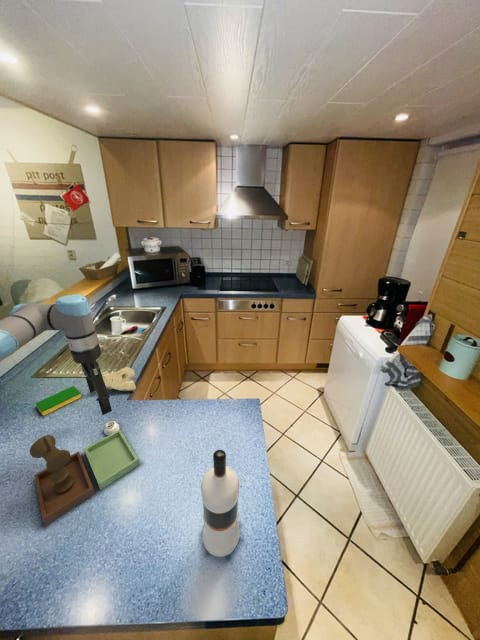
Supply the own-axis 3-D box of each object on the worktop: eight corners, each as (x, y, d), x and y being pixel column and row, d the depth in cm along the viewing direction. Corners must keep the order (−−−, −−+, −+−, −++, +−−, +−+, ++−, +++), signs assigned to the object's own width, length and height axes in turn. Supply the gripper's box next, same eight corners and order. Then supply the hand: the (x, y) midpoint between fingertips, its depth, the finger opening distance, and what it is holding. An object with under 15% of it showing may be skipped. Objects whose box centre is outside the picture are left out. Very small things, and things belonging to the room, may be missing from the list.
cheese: (144, 384, 118) (123, 360, 119) (144, 381, 112) (122, 356, 113) (115, 408, 110) (92, 383, 111) (113, 406, 104) (90, 380, 104)
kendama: (66, 468, 77) (47, 421, 69) (84, 485, 73) (65, 436, 64) (45, 485, 73) (21, 436, 64) (62, 504, 68) (39, 454, 60)
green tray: (85, 454, 83) (83, 448, 82) (121, 434, 90) (120, 429, 89) (100, 490, 72) (98, 484, 71) (139, 464, 80) (138, 459, 79)
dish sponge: (81, 397, 107) (80, 392, 106) (43, 416, 97) (41, 411, 96) (74, 389, 111) (73, 385, 110) (37, 407, 101) (35, 402, 100)
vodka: (208, 566, 57) (203, 484, 45) (198, 523, 65) (191, 443, 53) (245, 548, 61) (249, 466, 48) (231, 509, 69) (232, 429, 56)
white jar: (120, 423, 94) (106, 425, 93) (119, 417, 93) (104, 420, 92) (118, 434, 90) (102, 436, 89) (116, 428, 89) (101, 430, 88)
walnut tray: (36, 480, 74) (33, 474, 73) (80, 456, 82) (78, 451, 81) (45, 525, 64) (42, 519, 63) (95, 493, 71) (93, 487, 70)
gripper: (61, 335, 81) (78, 387, 89) (81, 370, 64) (99, 429, 73) (87, 328, 85) (100, 378, 94) (112, 359, 69) (125, 416, 78)
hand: (100, 401), depth 84 cm, fingers open, 13 cm apart
